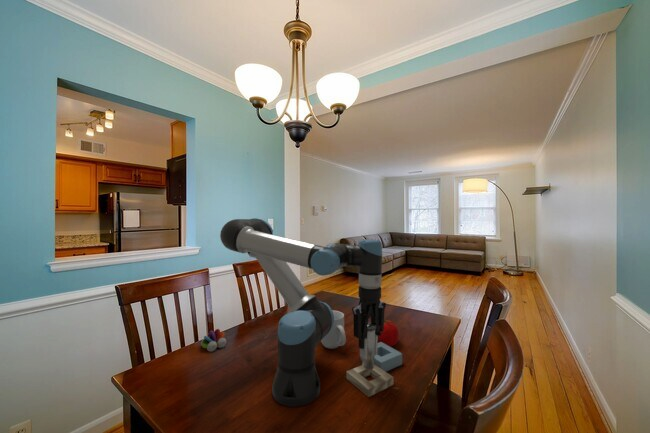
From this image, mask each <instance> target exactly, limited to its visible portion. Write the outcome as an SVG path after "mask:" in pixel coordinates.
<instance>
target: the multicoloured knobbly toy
mask: <svg viewBox="0 0 650 433" xmlns="http://www.w3.org/2000/svg"><path fill="white" fill-rule="evenodd" d="M208 333H209V334H208V336H207V335H204V336H203V338H202V340H201V341H200V345H201V347H202V349H206V350H207V351H208V352H210V353H211V352H215V350H216V349H217V348H219V349H222V348H225V347H226V345H227V340H226V338H225V336H226V333H225V331H221V329H219V328H217V329H215V330H214V331H213V330H210V331H209V332H208Z"/></svg>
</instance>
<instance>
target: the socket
mask: <svg viewBox="0 0 650 433" xmlns="http://www.w3.org/2000/svg"><path fill="white" fill-rule="evenodd" d="M359 358H360V361H362V357H361V356H359ZM374 365H376V366H377V367H379V368H380V369H382V370H383V371H385V372H386V373H387V372H388V371H391V370H392V369H395V368H397V367H399V366H401V365H403V353H401V352H400V351H399V350H397V349H395V348H393V347H389V346H388V345H386V344H384V343H382V342H379V343H378V344H377V355H375V362H374Z"/></svg>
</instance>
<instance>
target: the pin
mask: <svg viewBox="0 0 650 433" xmlns="http://www.w3.org/2000/svg"><path fill="white" fill-rule="evenodd" d="M375 329H376V324H374V323H372V322H371V321H368V325H367V331H366V337H365V338H366V339H367V359H364V358H362V360H361V362H362V363H361V365H362V366H363V368H365V369H369V370H370V369H373V368H374V362H375Z"/></svg>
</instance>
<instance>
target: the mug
mask: <svg viewBox="0 0 650 433" xmlns="http://www.w3.org/2000/svg"><path fill="white" fill-rule="evenodd" d="M332 311H333V314H334V323H333V326H332V328H331V330H330V332H329V333H328V334H327V335H326V336H325V337H324V338H323V339H322V340H321V341H320V342H321V344H322V346H324V348H326V349H332V350H333V349H337V348H339V347H342V346H345V344H346V341H347V338H346V337H347V336H346V331H345V313H343V312H341V311H339V310H332Z"/></svg>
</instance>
